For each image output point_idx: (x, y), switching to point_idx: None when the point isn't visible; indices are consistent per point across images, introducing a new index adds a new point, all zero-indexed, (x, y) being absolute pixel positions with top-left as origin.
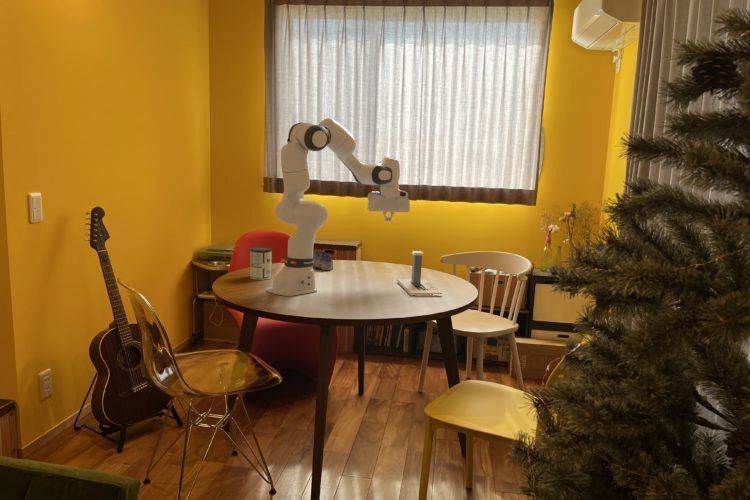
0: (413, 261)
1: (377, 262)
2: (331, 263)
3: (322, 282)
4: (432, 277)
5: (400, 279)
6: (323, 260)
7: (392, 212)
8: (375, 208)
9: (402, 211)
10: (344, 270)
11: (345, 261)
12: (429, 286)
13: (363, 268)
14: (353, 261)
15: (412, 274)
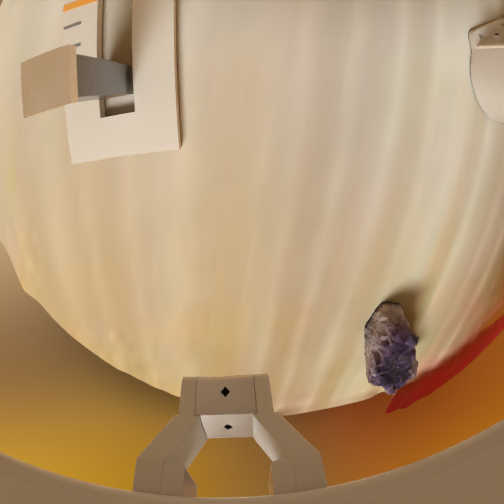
0: (90, 76)
1: None
2: (384, 323)
3: (445, 144)
4: (56, 247)
5: (166, 142)
6: (408, 327)
7: (161, 488)
8: (485, 472)
9: (6, 464)
10: (337, 317)
11: (300, 403)
12: (77, 40)
13: (271, 348)
14: (279, 406)
15: (116, 82)
